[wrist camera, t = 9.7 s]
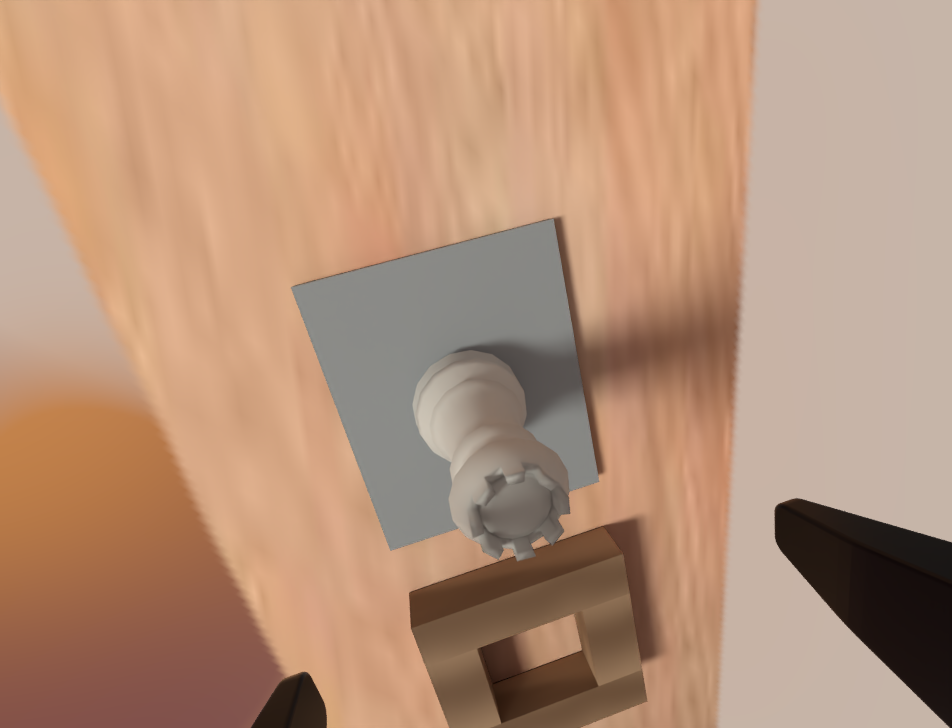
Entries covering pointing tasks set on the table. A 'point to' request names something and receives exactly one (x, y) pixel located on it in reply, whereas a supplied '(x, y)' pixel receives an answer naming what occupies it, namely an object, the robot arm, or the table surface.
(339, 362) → the slate mat
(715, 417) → the table surface
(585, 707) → the socket block
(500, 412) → the rook chess piece
